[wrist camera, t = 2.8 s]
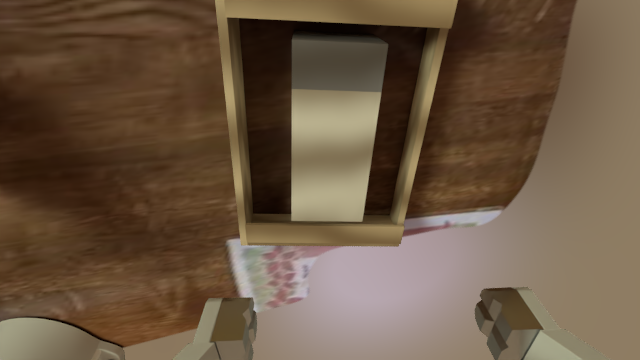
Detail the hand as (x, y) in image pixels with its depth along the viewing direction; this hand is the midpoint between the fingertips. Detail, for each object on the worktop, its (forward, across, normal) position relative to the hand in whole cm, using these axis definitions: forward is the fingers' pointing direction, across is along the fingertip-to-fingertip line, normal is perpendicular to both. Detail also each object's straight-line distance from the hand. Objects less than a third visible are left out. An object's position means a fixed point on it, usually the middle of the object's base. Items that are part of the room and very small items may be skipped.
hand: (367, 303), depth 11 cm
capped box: (+19, 0, 0) cm, 19 cm away
